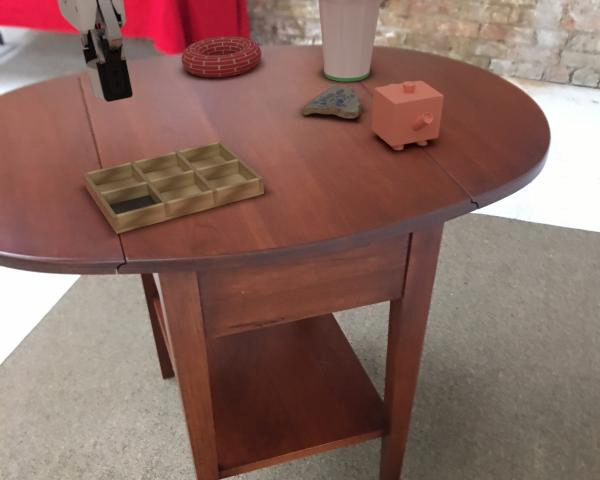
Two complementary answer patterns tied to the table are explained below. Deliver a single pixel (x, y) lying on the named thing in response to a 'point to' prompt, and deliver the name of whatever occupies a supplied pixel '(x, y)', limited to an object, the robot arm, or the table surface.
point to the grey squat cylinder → (95, 79)
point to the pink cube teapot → (406, 113)
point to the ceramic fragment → (336, 103)
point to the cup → (348, 37)
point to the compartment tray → (171, 185)
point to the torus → (221, 56)
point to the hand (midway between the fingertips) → (111, 89)
